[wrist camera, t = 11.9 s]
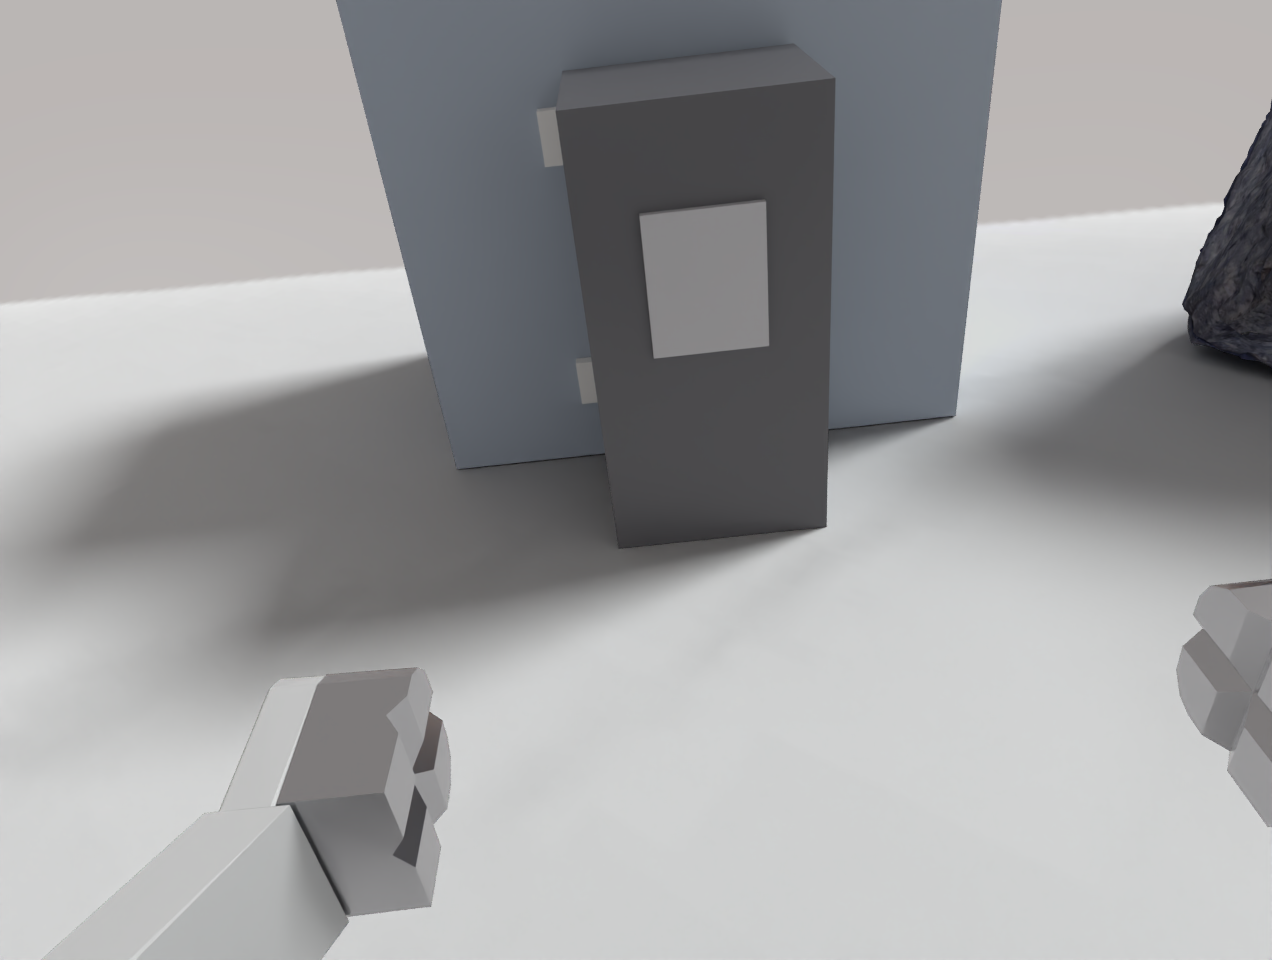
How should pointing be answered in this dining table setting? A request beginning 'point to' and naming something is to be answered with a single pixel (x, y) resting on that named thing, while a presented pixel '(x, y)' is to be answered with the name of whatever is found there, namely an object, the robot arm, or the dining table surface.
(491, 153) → the socket
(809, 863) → the dining table surface
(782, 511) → the plug
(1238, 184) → the stone
